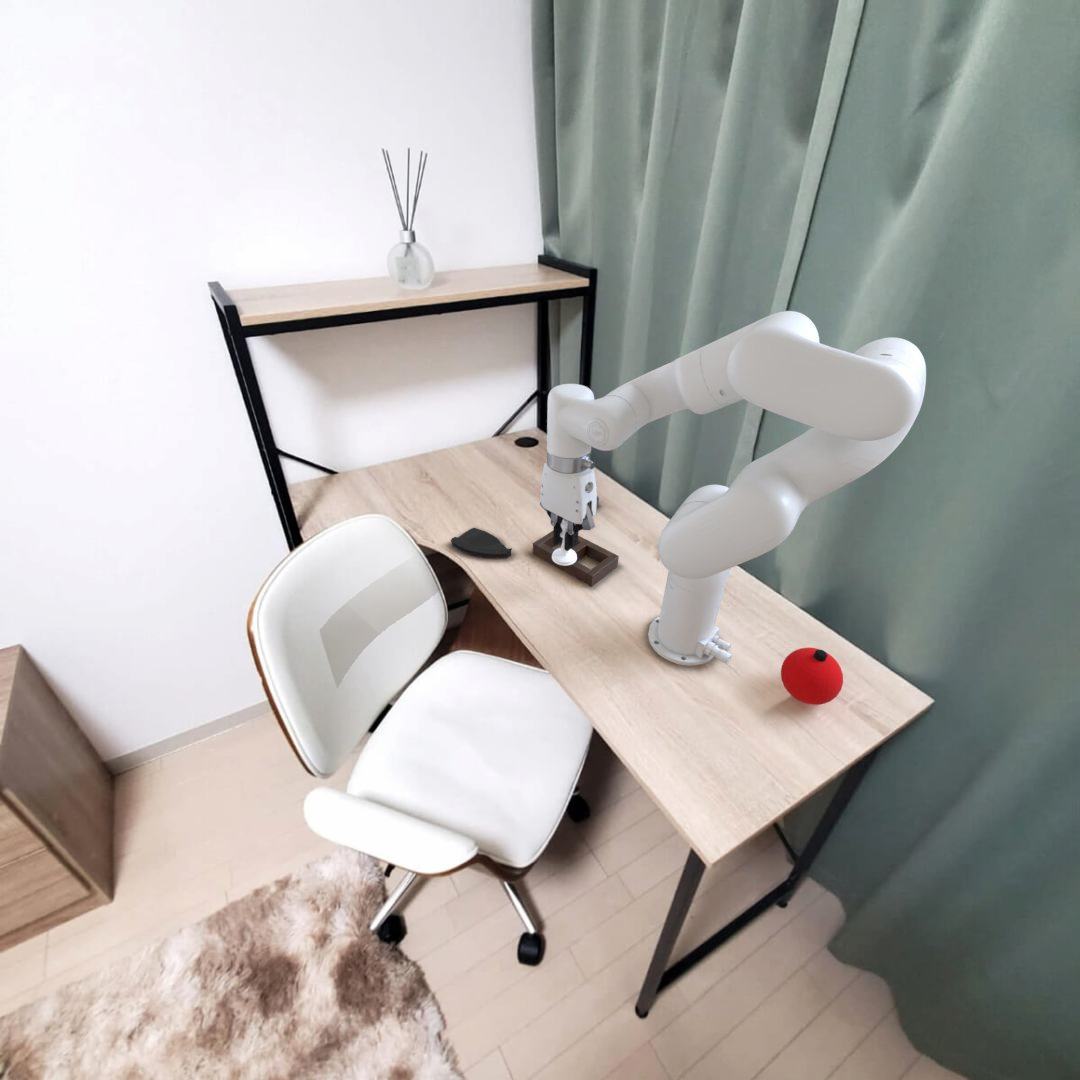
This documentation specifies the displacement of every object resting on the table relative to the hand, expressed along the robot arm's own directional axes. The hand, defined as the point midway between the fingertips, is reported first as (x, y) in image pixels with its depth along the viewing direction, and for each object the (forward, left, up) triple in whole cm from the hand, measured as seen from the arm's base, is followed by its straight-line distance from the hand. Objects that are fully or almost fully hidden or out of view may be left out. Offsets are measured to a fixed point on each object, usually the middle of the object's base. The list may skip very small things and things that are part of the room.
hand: (565, 543), depth 102 cm
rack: (+5, -10, -12) cm, 16 cm away
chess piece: (0, 0, -4) cm, 4 cm away
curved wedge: (+24, +1, -12) cm, 27 cm away
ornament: (-46, -8, -12) cm, 48 cm away
